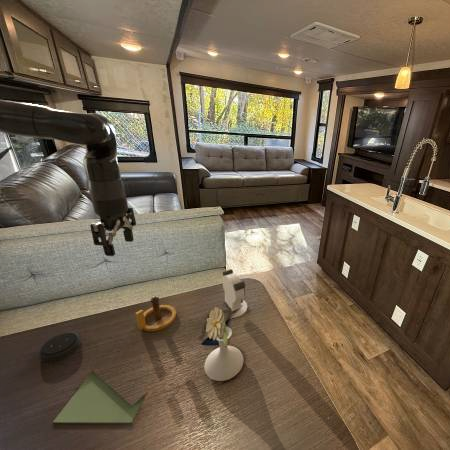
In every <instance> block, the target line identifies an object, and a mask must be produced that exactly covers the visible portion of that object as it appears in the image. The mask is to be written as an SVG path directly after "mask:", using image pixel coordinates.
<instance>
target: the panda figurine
mask: <svg viewBox="0 0 450 450" xmlns="http://www.w3.org/2000/svg"><path fill="white" fill-rule="evenodd" d="M222 276H223V277H222V288H223V291H224V303H225V304H226V305H227V306H228V307H229V308H230V309H231V312H234V313H233V314H232V315H231V316H230V317H229V318H230V319H236V318H238V317H241V316H243V315H244V314H246V312H247V310H248V304H247V301H245V300H244V299H245V297H246V283H245V281H244V280H241V278H240V277H239V275H238V274H237V273H235V272H234V270H233V269H232V268H231V269H227V270H223V271H222Z"/></svg>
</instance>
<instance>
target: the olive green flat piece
mask: <svg viewBox="0 0 450 450" xmlns="http://www.w3.org/2000/svg"><path fill="white" fill-rule="evenodd" d="M148 393H149V391H147V392H145V394H143V395H142V396H141V397H140V398H139V399H138V400H137V401H136V402H135V403H133V404H131V403H130V402H129V401H128V400H126V399H125V398H124V397H123V396H122V395H121V394H120V393H119V392H118V391H116V390H115V389H114V388H113V387H112V386H110V384H108V383H107V381H105V380H104V379H102V378H101V377H100V376H99V375H98V374H97V373H96V372H95V371H94V370H91V372H90V373H89V375H88V376H87V377H86V378H85V380H84V381H83V383H81V385H80V386H79V388H77V390H76V391H75V393H73V395H72V396H71V398H70V399H69V400H68V401H67V403H66V404H65V406H64V407H63V408H62V409H61V410H60V412H59V413H58V414H57V416H56V417H55V419H54V420H53V421H52V423H53V424H133V422H134V420H135V418H136V416H137V415H138V413H139V410H140V409H141V406H142V405H143V404H144V403H143V402H144V401H145V399H146V397H147V395H148Z"/></svg>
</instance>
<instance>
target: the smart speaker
mask: <svg viewBox="0 0 450 450" xmlns="http://www.w3.org/2000/svg"><path fill="white" fill-rule="evenodd" d="M81 344H82V340H81V337H80V335H79V334H78V333H76V332H71V331H70V332H63V333H60V334H56V335H54V336H53V337H50V339H48V340H46V341H45V342H44V343H43V344H42V345H41V347H40V349H39V350H38V354H39V357H40V359H41V361H42V362H44V363H45V362H46V363H53V362H58V361H60V360H64V359H66V358H67V357H69V356H70V355H72V354H73V353H75V352H76V351H77V350H78V349H79V347H80V346H81Z"/></svg>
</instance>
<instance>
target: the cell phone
mask: <svg viewBox="0 0 450 450" xmlns="http://www.w3.org/2000/svg"><path fill="white" fill-rule="evenodd" d="M230 319H231V318H230V317H229V318H227V320H225V324H226V327H229V323H230ZM200 345H202V346H219V342H218V340H216V339H215V340H213V336H212V338H211V339H210V338H209V337H208V336H207V338H205V339H204V340H203V341H201V343H200Z"/></svg>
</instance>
